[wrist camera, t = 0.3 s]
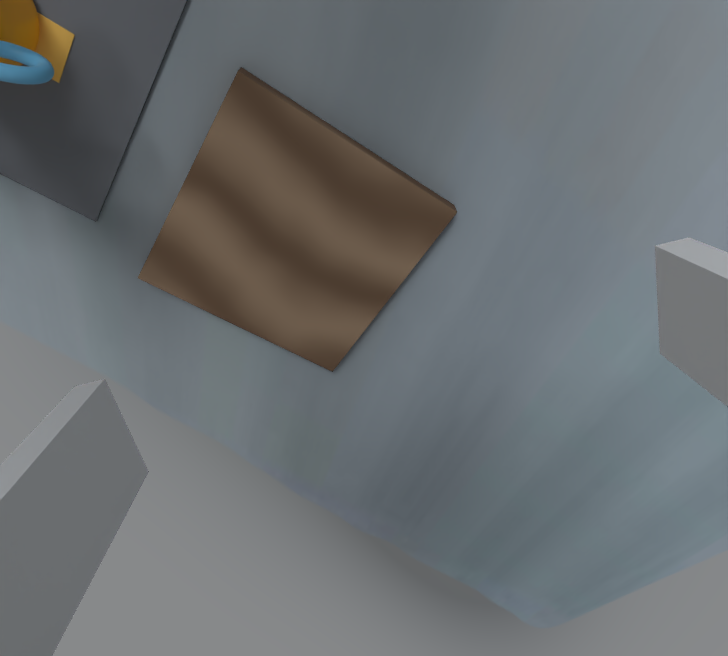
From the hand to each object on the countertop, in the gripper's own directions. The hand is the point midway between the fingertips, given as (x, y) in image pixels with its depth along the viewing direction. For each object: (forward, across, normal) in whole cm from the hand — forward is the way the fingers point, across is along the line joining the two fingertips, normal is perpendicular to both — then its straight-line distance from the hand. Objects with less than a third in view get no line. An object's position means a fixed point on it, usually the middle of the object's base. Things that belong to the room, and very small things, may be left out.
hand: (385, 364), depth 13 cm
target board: (+27, -5, -2) cm, 28 cm away
